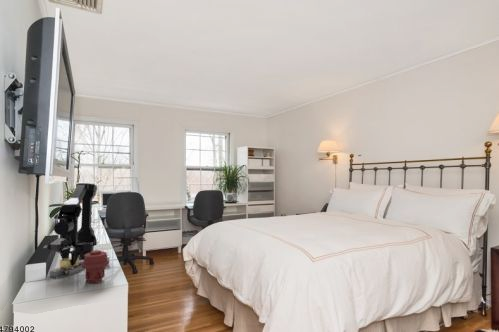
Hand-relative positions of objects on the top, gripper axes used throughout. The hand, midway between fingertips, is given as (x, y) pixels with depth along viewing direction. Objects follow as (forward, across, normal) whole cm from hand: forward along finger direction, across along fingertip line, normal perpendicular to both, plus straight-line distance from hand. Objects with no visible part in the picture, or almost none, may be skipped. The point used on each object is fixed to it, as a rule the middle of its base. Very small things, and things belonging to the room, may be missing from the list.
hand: (69, 264), depth 131 cm
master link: (+1, 0, 0) cm, 1 cm away
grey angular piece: (+3, +8, +10) cm, 13 cm away
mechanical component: (+3, +20, -8) cm, 22 cm away
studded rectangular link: (+3, 0, 0) cm, 3 cm away
